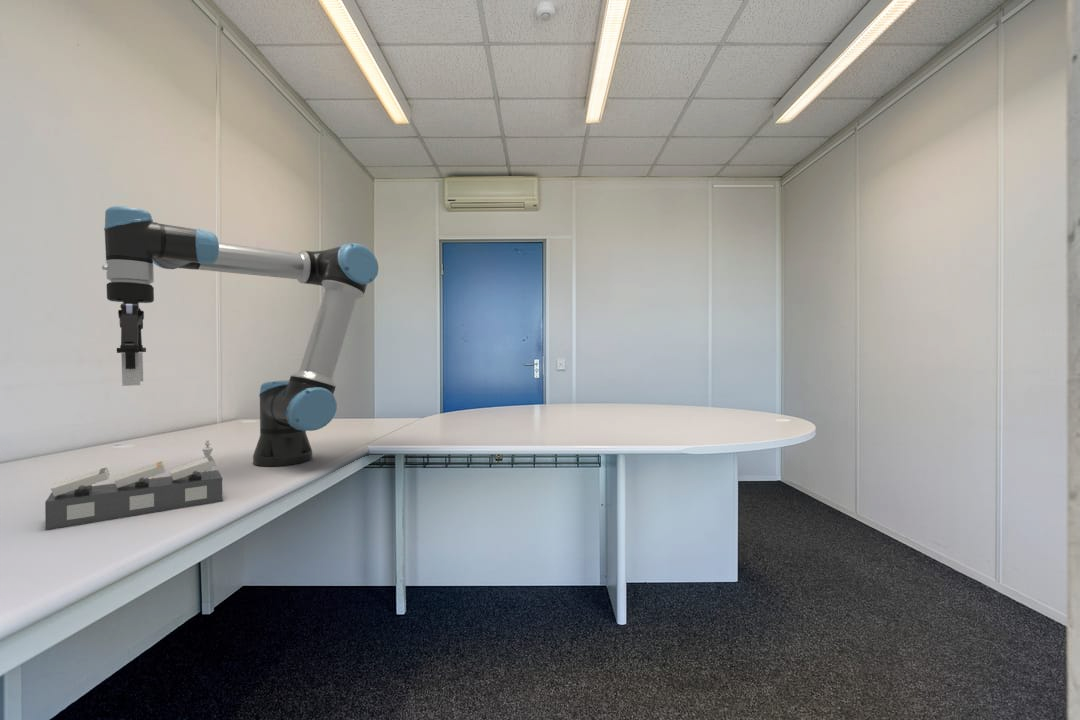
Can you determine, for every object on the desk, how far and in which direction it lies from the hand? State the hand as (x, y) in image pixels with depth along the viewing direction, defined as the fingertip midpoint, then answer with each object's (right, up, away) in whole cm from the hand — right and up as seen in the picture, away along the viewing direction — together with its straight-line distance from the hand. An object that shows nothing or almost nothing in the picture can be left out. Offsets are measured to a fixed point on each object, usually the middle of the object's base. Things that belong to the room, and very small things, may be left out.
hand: (133, 383), depth 100 cm
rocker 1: (0, -19, -11) cm, 22 cm away
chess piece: (+6, -25, +14) cm, 29 cm away
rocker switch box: (+7, -25, -6) cm, 26 cm away
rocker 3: (+13, -19, 0) cm, 23 cm away
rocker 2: (+7, -19, -6) cm, 21 cm away
